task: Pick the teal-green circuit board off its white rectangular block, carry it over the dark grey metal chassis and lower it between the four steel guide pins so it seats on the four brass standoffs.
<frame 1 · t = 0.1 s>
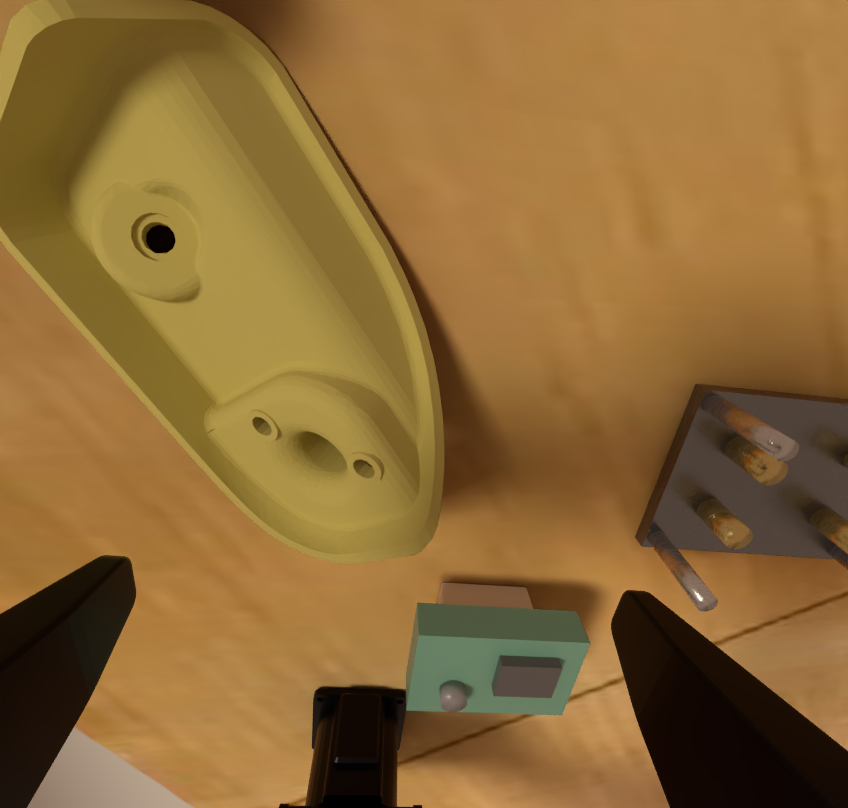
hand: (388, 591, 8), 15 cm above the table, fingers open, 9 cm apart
white rectangular block: (480, 602, 29), on the table
plastic component: (271, 317, 21), on the table
board: (488, 644, 26), point 3 cm above the table, touching white rectangular block
chassis: (770, 475, 25), on the table
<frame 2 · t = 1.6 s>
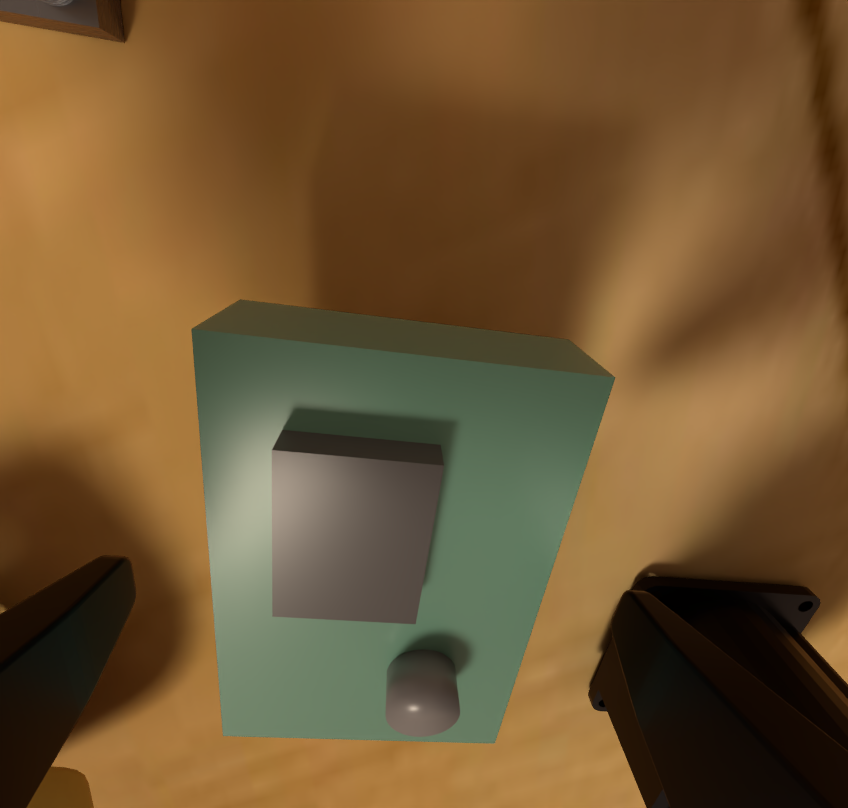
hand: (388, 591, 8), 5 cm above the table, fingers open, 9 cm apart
board: (385, 518, 10), point 3 cm above the table, touching white rectangular block
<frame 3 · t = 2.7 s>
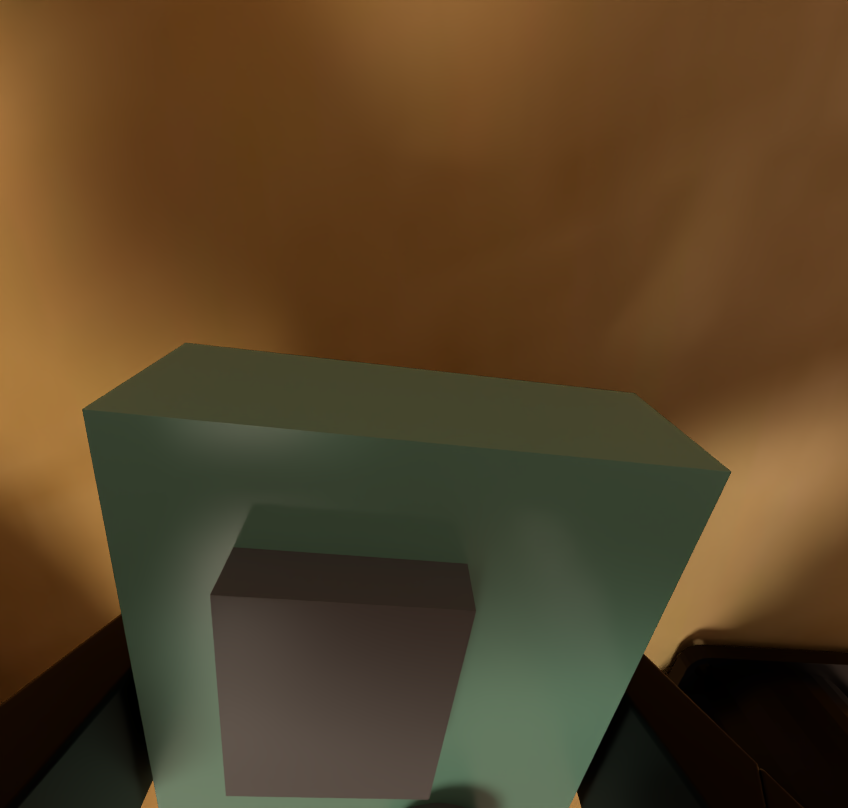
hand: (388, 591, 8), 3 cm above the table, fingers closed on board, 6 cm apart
board: (386, 613, 8), point 3 cm above the table, touching gripper, white rectangular block
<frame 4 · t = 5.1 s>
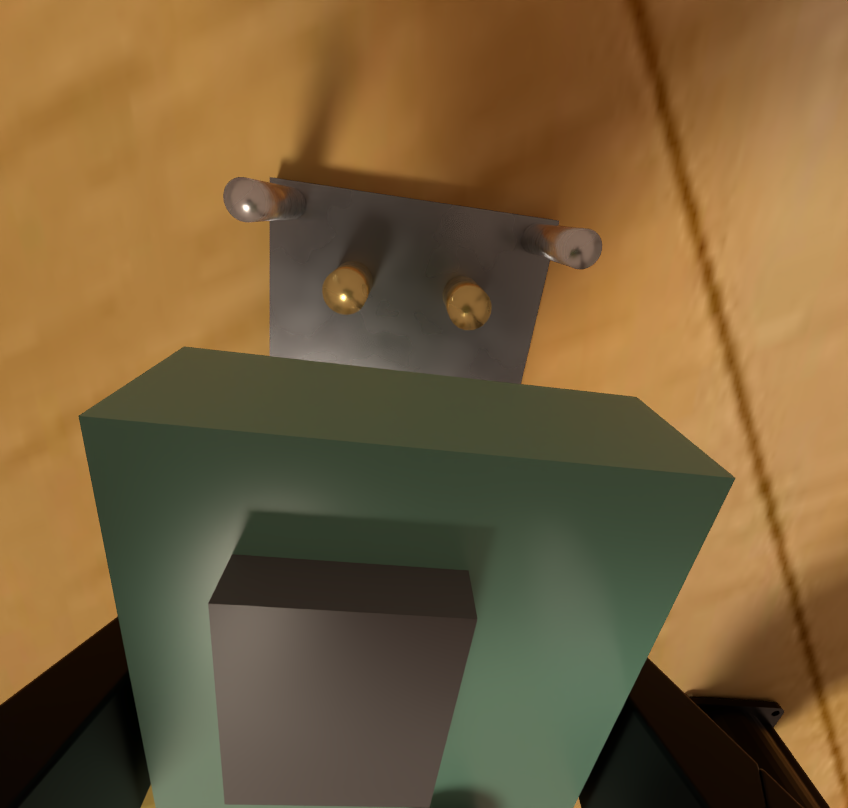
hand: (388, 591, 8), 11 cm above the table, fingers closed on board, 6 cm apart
board: (387, 617, 8), point 12 cm above the table, touching gripper
chassis: (397, 370, 19), on the table
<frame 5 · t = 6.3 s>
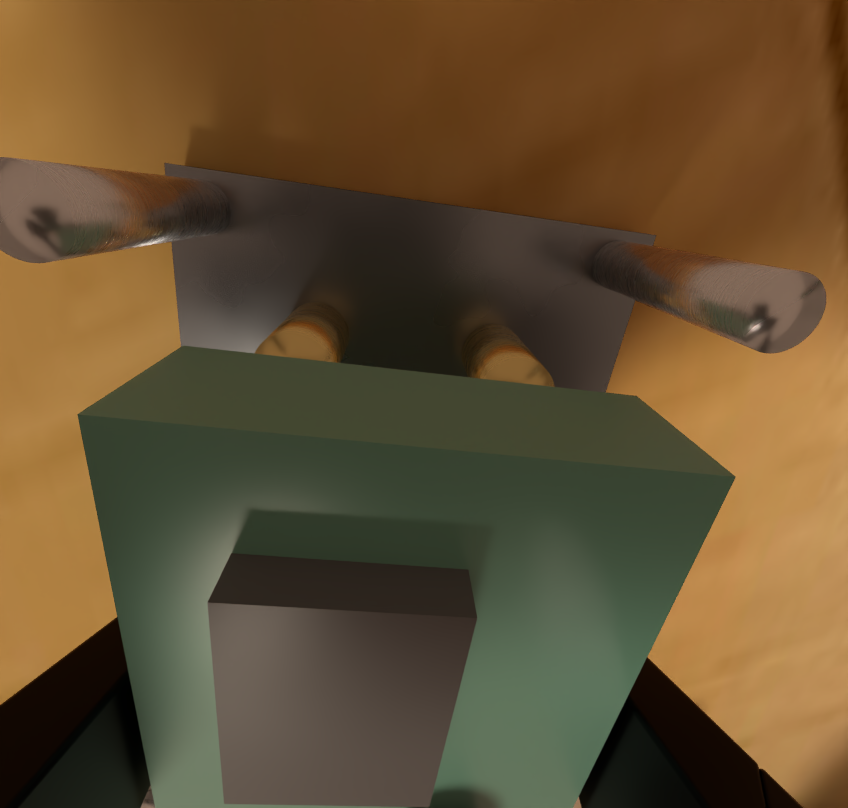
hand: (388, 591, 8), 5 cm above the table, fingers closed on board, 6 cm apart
board: (386, 616, 8), point 5 cm above the table, touching gripper
chassis: (391, 456, 12), on the table
when the fingers open (4 cm above the table, at t = 7.4 s): board drops 1 cm, resting on chassis.
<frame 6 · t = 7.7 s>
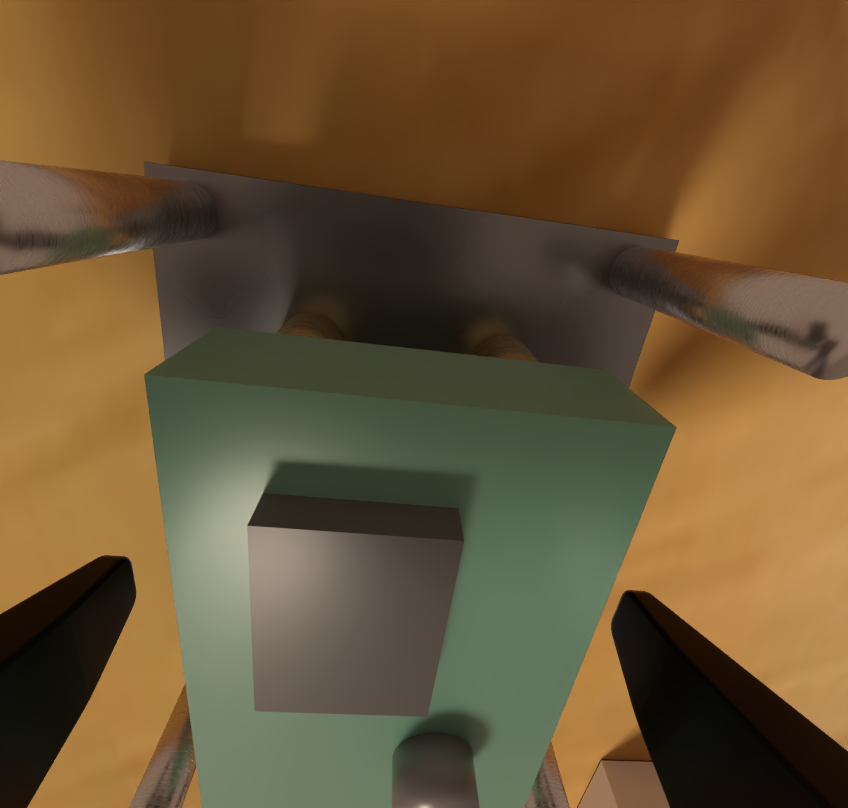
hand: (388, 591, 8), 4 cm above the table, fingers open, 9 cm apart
white rectangular block: (616, 799, 19), on the table
board: (390, 571, 9), point 3 cm above the table, touching chassis
chassis: (391, 474, 12), on the table
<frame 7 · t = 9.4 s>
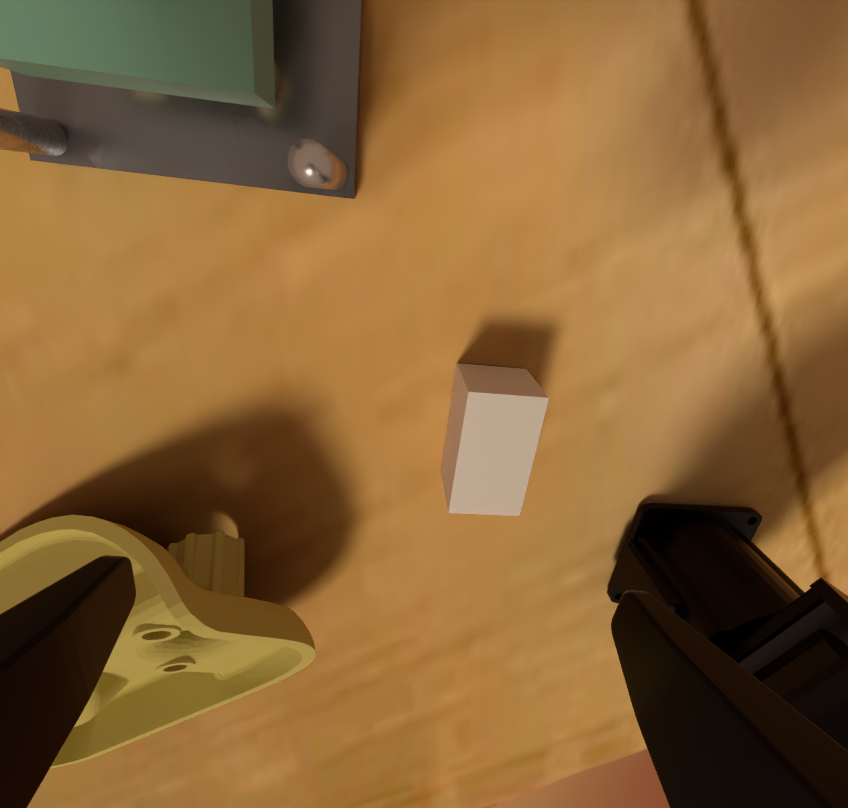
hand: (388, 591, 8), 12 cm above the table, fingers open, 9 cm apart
white rectangular block: (481, 422, 20), on the table
plastic component: (143, 597, 24), on the table
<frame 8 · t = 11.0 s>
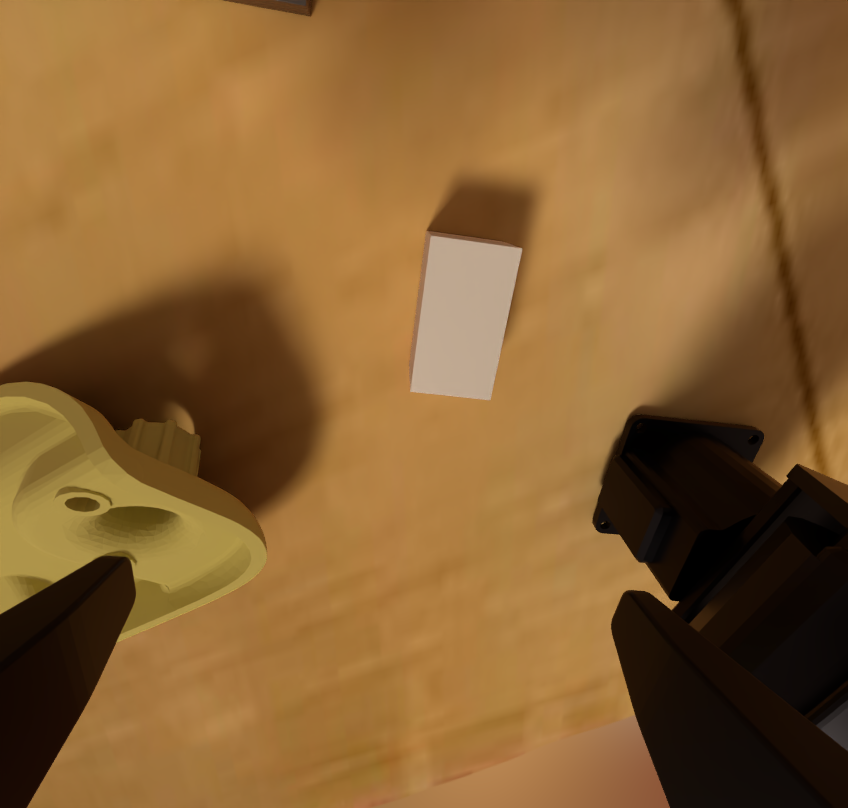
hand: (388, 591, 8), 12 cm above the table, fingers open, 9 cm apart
white rectangular block: (453, 306, 18), on the table
plastic component: (91, 504, 22), on the table
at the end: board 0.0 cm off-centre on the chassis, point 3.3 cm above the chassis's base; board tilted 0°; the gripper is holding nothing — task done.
